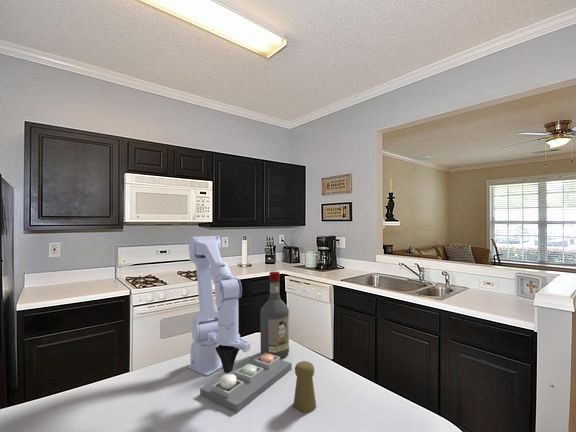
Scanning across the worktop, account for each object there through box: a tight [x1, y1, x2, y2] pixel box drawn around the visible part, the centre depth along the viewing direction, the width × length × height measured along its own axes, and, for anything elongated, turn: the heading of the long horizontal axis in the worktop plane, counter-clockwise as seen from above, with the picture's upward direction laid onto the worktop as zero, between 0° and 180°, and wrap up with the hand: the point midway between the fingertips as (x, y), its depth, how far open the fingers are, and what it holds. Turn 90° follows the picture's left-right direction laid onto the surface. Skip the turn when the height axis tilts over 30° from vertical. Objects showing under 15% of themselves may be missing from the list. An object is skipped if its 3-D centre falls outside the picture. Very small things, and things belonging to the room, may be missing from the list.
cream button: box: [220, 374, 236, 389], centre depth 82 cm, size 4×4×2 cm
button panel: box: [199, 352, 293, 414], centre depth 89 cm, size 14×26×3 cm, turn 147°
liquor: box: [259, 271, 290, 360], centre depth 107 cm, size 9×9×30 cm
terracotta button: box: [261, 354, 274, 364], centre depth 97 cm, size 4×4×2 cm
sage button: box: [242, 365, 257, 376], centre depth 89 cm, size 4×4×2 cm
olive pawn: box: [293, 360, 317, 414], centre depth 77 cm, size 6×6×11 cm
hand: (228, 371), depth 82 cm, fingers closed
